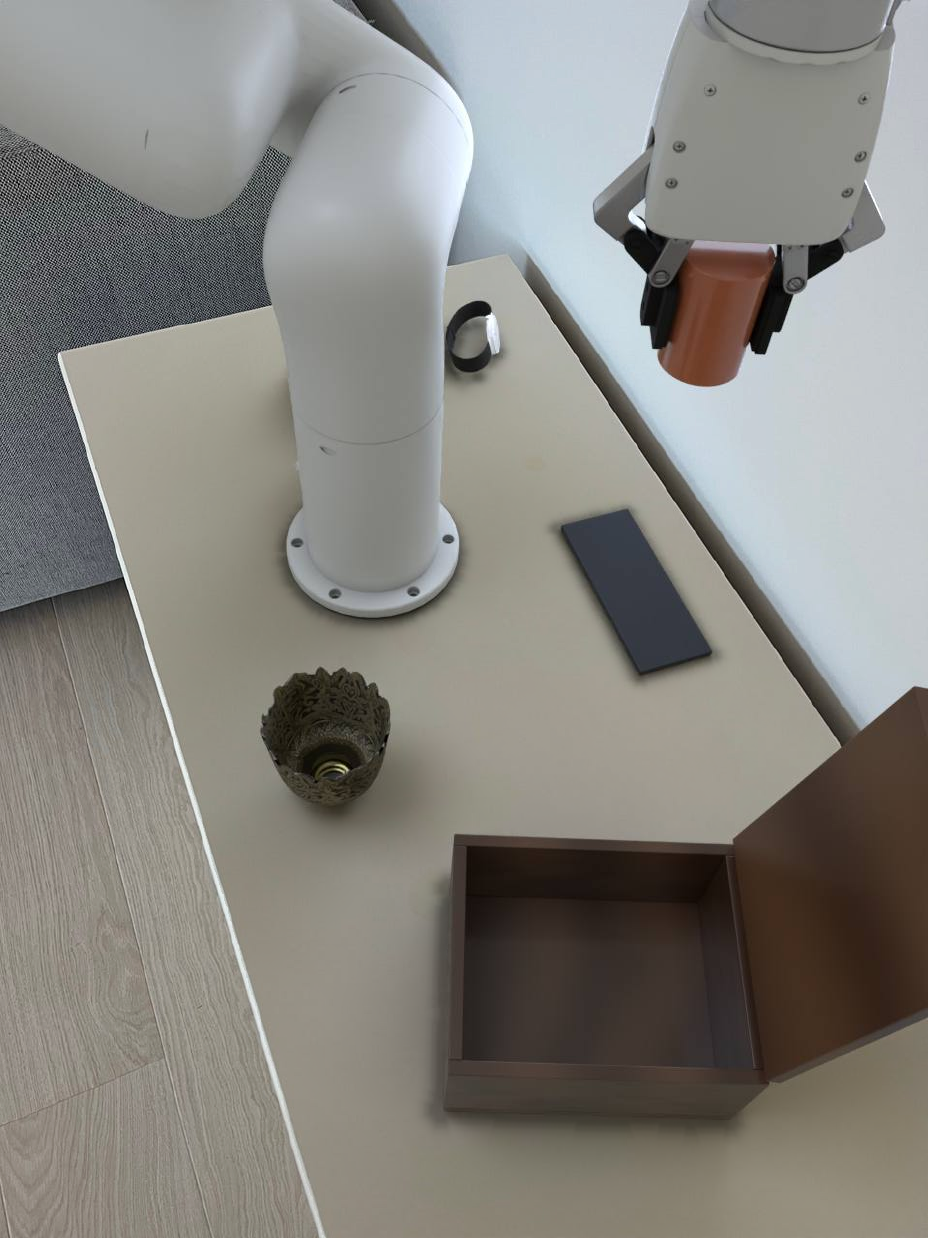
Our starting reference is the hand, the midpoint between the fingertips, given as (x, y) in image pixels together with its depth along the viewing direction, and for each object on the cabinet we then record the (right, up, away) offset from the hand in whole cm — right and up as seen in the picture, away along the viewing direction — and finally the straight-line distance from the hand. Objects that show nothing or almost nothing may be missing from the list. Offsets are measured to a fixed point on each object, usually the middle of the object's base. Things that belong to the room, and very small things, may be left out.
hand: (706, 332), depth 60 cm
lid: (+3, -28, -11) cm, 31 cm away
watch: (-13, +8, +34) cm, 37 cm away
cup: (-22, -26, +9) cm, 35 cm away
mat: (-1, -14, +19) cm, 23 cm away
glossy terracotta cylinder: (0, -1, +1) cm, 2 cm away
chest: (-7, -37, +1) cm, 38 cm away
